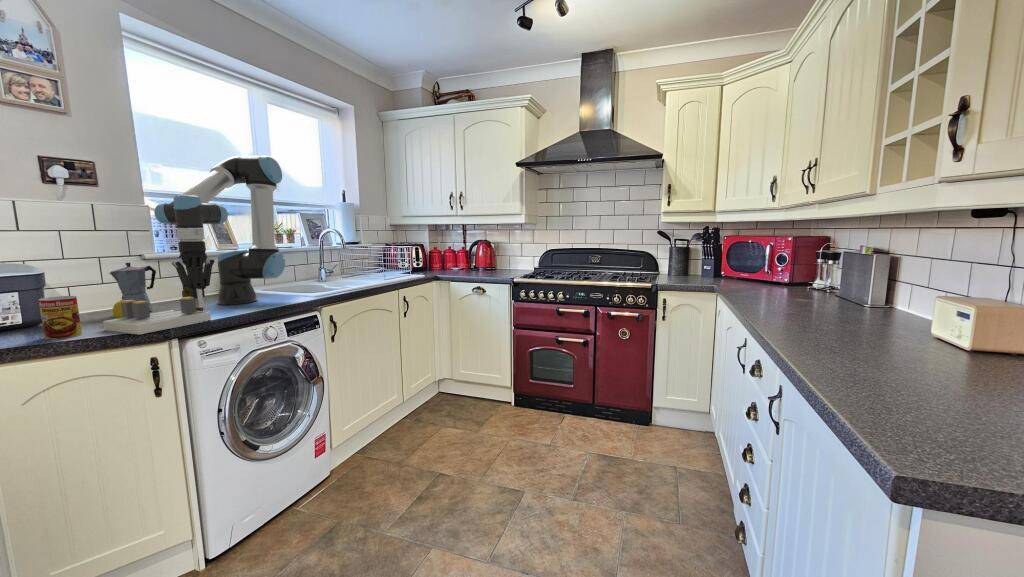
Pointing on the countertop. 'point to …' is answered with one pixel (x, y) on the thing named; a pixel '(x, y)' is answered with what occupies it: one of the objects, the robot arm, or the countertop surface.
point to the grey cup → (140, 309)
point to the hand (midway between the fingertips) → (199, 307)
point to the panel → (156, 322)
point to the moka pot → (134, 282)
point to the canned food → (60, 317)
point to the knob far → (127, 308)
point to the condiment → (187, 294)
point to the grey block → (188, 305)
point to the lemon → (118, 310)
